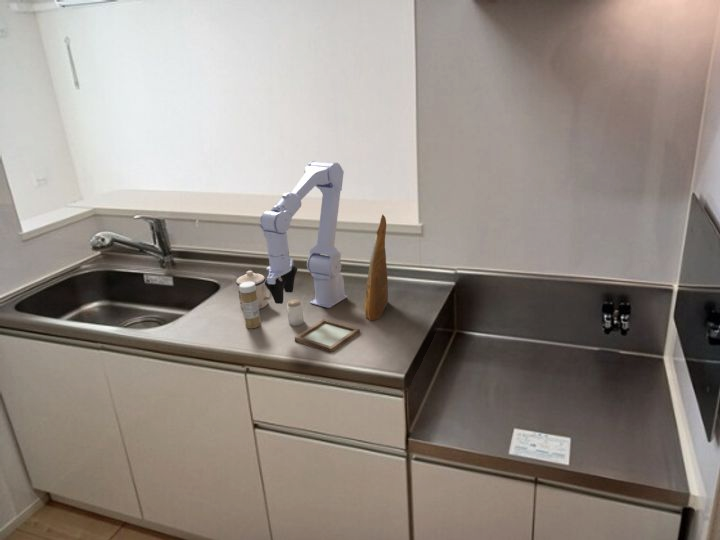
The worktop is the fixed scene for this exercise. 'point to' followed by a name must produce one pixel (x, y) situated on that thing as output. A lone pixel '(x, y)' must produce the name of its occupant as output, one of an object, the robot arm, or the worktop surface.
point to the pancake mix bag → (377, 276)
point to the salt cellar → (295, 312)
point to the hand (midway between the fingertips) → (284, 297)
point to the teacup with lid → (260, 288)
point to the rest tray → (327, 335)
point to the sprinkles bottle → (250, 304)
